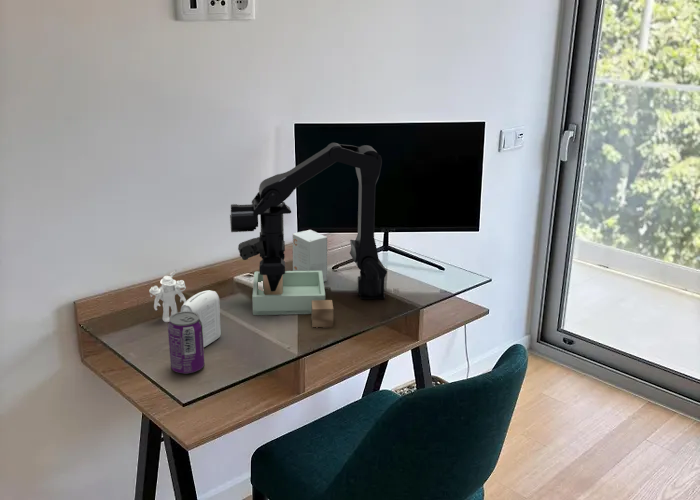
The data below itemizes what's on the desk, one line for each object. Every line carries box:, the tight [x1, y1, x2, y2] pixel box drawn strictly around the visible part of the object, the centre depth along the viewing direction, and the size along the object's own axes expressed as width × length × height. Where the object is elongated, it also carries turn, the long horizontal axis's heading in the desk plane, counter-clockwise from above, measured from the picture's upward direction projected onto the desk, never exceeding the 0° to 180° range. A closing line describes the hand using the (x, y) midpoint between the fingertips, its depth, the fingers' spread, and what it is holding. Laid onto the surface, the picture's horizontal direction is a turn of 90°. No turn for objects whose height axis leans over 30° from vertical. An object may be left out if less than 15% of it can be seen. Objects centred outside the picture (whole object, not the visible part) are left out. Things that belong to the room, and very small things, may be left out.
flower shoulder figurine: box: [148, 269, 187, 323], centre depth 176 cm, size 9×4×12 cm, turn 127°
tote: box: [251, 270, 326, 316], centre depth 189 cm, size 18×16×5 cm
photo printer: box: [180, 289, 222, 348], centre depth 165 cm, size 10×4×12 cm, turn 151°
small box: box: [292, 229, 328, 282], centre depth 201 cm, size 8×6×13 cm
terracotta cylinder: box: [263, 275, 283, 295], centre depth 187 cm, size 5×5×7 cm
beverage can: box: [167, 311, 205, 375], centre depth 155 cm, size 7×7×12 cm
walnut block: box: [311, 299, 334, 329], centre depth 177 cm, size 5×5×5 cm
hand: (273, 286), depth 188 cm, fingers closed on terracotta cylinder, 5 cm apart
